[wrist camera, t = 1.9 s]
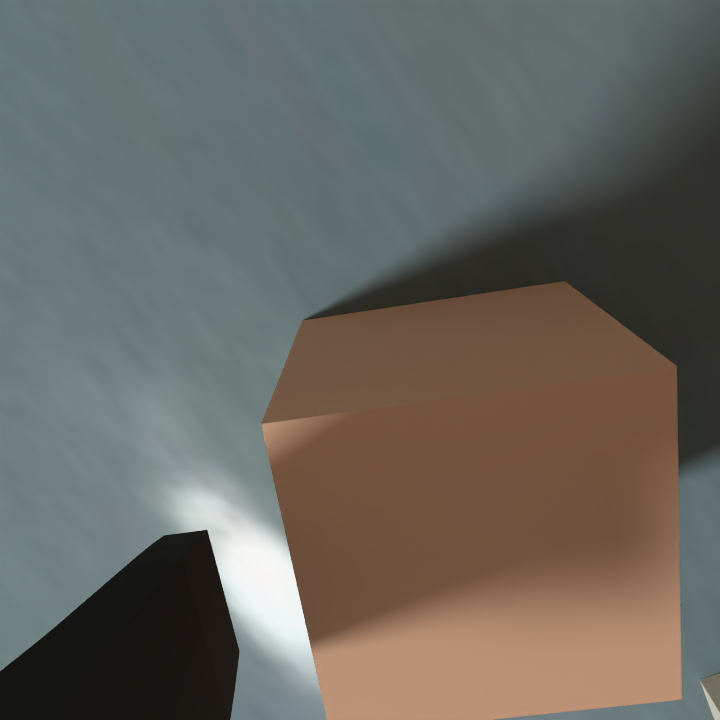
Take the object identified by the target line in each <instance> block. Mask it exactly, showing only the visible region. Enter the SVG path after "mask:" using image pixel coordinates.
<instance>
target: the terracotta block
mask: <svg viewBox="0 0 720 720" xmlns="http://www.w3.org/2000/svg"><path fill="white" fill-rule="evenodd" d="M261 425H262V430H263V434H264V439H265V443H266V448H267V452H268V457H269V461H270V466H271V470H272V475H273V479H274V484H275V488H276V493H277V497H278V501H279V506H280V510H281V515H282V519H283V524H284V528H285V533H286V537H287V542H288V546H289V551H290V555H291V560H292V564H293V569H294V573H295V578H296V582H297V587H298V591H299V596H300V600H301V605H302V609H303V614H304V618H305V623H306V627H307V631H308V636H309V640H310V645H311V649H312V654H313V658H314V663H315V667H316V672H317V676H318V681H319V685H320V690H321V694H322V699H323V703H324V708H325V712H326V717H327V720H492V719H501V718H511V717H520V716H530V715H539V714H549V713H558V712H568V711H577V710H586V709H596V708H605V707H615V706H624V705H634V704H643V703H653V702H662V701H672V700H681V699H682V693H681V622H680V552H679V482H678V412H677V366H676V365H675V364H673V363H672V362H671V361H670V360H668V359H667V358H666V357H664V356H663V355H662V354H660V353H659V352H658V351H656V350H655V349H654V348H652V347H651V346H650V345H648V344H647V343H646V342H645V341H643V340H642V339H641V338H639V337H638V336H637V335H635V334H634V333H633V332H631V331H630V330H629V329H627V328H626V327H625V326H623V325H622V324H621V323H620V322H618V321H617V320H616V319H614V318H613V317H612V316H610V315H609V314H608V313H606V312H605V311H604V310H602V309H601V308H600V307H598V306H597V305H596V304H595V303H593V302H592V301H591V300H589V299H588V298H587V297H585V296H584V295H583V294H581V293H580V292H579V291H577V290H576V289H575V288H574V287H572V286H571V285H570V284H568V283H567V282H566V281H562V282H555V283H549V284H542V285H535V286H529V287H522V288H515V289H509V290H502V291H495V292H489V293H482V294H475V295H469V296H462V297H455V298H449V299H442V300H435V301H429V302H422V303H415V304H409V305H402V306H395V307H389V308H382V309H375V310H369V311H362V312H355V313H349V314H342V315H335V316H329V317H322V318H315V319H309V320H302V323H301V325H300V328H299V330H298V333H297V335H296V338H295V340H294V343H293V345H292V348H291V350H290V353H289V355H288V358H287V361H286V363H285V366H284V368H283V371H282V373H281V376H280V378H279V381H278V383H277V386H276V388H275V391H274V393H273V396H272V398H271V401H270V403H269V406H268V408H267V411H266V413H265V416H264V418H263V421H262V423H261Z"/></svg>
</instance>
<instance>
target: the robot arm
mask: <svg viewBox="0 0 720 720" xmlns="http://www.w3.org/2000/svg"><path fill="white" fill-rule="evenodd" d="M238 659H239V648H238V644H237V640H236V636H235V633H234V629H233V625H232V621H231V618H230V614H229V610H228V606H227V603H226V599H225V595H224V591H223V588H222V584H221V580H220V576H219V572H218V569H217V565H216V561H215V557H214V554H213V550H212V546H211V542H210V539H209V535H208V531H207V530H203V531H195V532H188V533H180V534H172V535H165V536H163V537H161V538H160V539H159V540H157V541H156V542H154V543H153V544H152V545H151V546H149V547H148V548H147V549H145V550H144V551H143V552H142V553H141V554H139V555H138V556H137V557H136V558H135V559H133V560H132V561H131V562H130V563H129V564H128V565H126V566H125V567H124V568H123V569H122V570H121V571H119V572H118V573H117V574H116V575H115V576H114V577H112V578H111V579H110V580H109V581H108V582H107V583H106V584H104V585H103V586H102V587H101V588H100V589H99V590H98V591H96V592H95V593H94V594H93V595H92V596H91V597H89V598H88V599H87V600H86V601H85V602H84V603H82V604H81V605H80V606H79V607H78V608H77V609H75V610H74V611H73V612H72V613H71V614H70V615H69V616H67V617H66V618H65V619H64V620H63V621H62V622H60V623H59V624H58V625H57V626H56V627H55V628H53V629H52V630H51V631H50V632H49V633H47V634H46V635H45V636H44V637H43V638H41V639H40V640H39V641H38V642H36V643H35V644H34V645H33V646H31V647H30V648H29V649H28V650H26V651H25V652H24V653H23V654H21V655H20V656H19V657H18V658H16V659H15V660H14V661H13V662H11V663H10V664H9V665H8V666H6V667H5V668H4V669H3V670H1V671H0V720H230V718H231V711H232V704H233V698H234V691H235V683H236V675H237V667H238Z"/></svg>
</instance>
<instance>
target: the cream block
mask: <svg viewBox="0 0 720 720" xmlns="http://www.w3.org/2000/svg"><path fill="white" fill-rule="evenodd" d="M700 682H701V684H702V687H703V690H704V693H705V695H706V698H707V701H708V704H709V706H710V709H711V712H712V715H713V717H714V720H720V673H719V674H716V675H713V676H710V677H707V678H704V679H700Z"/></svg>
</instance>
